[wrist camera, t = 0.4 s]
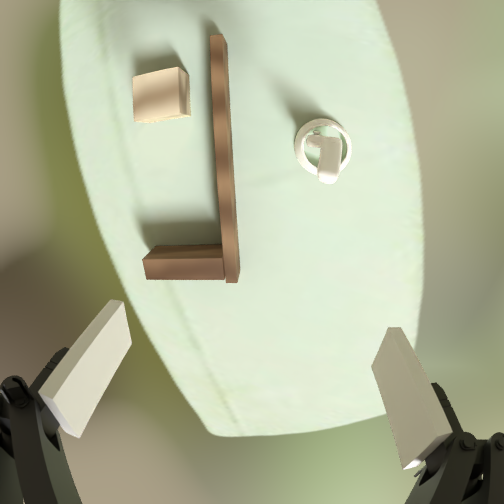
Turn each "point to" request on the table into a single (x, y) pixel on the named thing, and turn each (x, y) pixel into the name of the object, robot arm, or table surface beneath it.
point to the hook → (323, 150)
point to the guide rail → (226, 254)
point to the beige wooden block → (161, 95)
